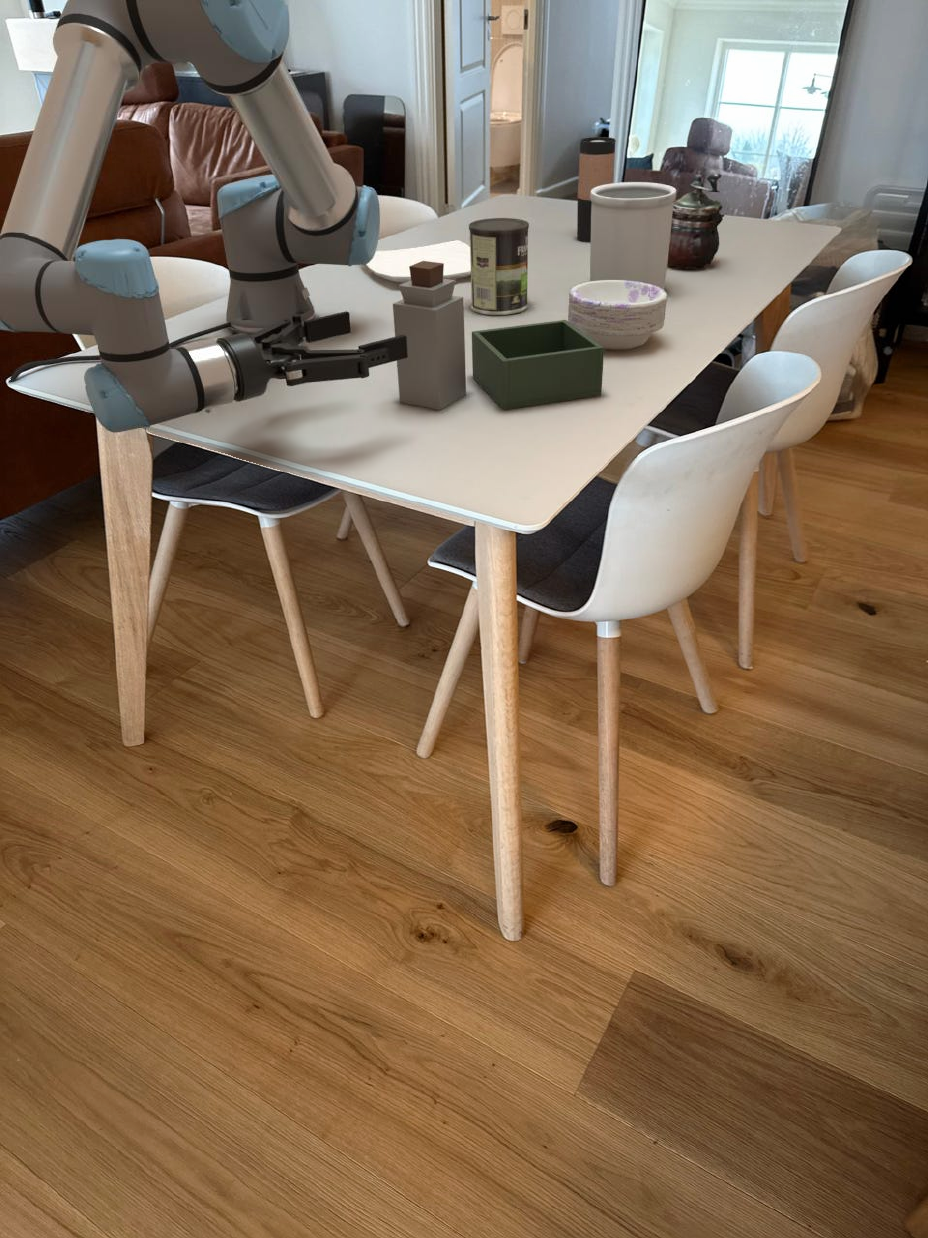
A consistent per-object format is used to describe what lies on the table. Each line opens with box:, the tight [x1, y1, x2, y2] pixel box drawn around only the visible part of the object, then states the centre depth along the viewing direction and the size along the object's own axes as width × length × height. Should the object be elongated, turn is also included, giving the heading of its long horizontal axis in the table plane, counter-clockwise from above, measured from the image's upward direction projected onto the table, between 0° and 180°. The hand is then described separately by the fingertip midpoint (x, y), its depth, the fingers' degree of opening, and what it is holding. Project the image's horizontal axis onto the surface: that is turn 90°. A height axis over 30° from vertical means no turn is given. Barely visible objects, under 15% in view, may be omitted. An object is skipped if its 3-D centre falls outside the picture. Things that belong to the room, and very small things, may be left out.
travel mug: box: [576, 136, 617, 243], centre depth 198 cm, size 8×8×20 cm
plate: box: [365, 239, 471, 284], centre depth 184 cm, size 24×24×3 cm
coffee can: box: [468, 217, 530, 316], centre depth 158 cm, size 10×10×14 cm
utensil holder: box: [589, 181, 677, 291], centre depth 163 cm, size 15×15×18 cm
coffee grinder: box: [667, 173, 725, 270], centre depth 176 cm, size 13×15×18 cm
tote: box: [471, 319, 605, 411], centre depth 128 cm, size 15×14×7 cm
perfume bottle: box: [392, 261, 467, 411], centre depth 122 cm, size 7×7×18 cm
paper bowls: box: [567, 280, 668, 351], centre depth 143 cm, size 15×15×8 cm
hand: (376, 333), depth 117 cm, fingers open, 13 cm apart
